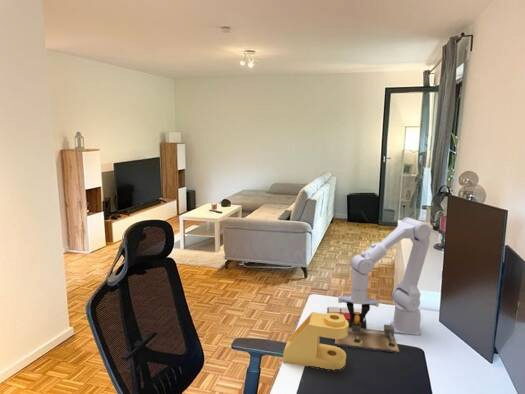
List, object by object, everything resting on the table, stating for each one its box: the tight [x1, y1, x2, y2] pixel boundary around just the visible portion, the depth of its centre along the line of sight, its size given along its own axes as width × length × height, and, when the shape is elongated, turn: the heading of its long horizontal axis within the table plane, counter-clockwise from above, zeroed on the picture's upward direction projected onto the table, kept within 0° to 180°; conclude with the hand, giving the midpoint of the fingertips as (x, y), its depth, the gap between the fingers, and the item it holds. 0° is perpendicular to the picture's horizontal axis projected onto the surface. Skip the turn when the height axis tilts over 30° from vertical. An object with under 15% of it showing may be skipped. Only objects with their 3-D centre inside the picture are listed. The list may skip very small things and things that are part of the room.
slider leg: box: [351, 312, 361, 341], centre depth 139 cm, size 3×9×7 cm, turn 172°
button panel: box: [326, 306, 367, 329], centre depth 153 cm, size 11×4×15 cm
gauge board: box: [334, 323, 400, 353], centre depth 139 cm, size 22×13×5 cm, turn 81°
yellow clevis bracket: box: [282, 311, 349, 370], centre depth 125 cm, size 20×9×16 cm, turn 75°
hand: (356, 321), depth 142 cm, fingers closed on slider leg, 3 cm apart
